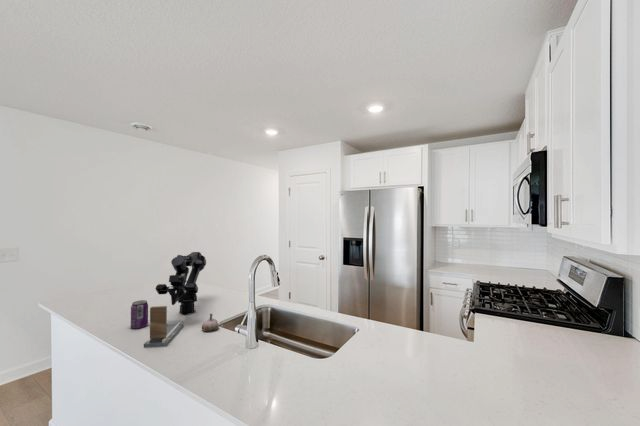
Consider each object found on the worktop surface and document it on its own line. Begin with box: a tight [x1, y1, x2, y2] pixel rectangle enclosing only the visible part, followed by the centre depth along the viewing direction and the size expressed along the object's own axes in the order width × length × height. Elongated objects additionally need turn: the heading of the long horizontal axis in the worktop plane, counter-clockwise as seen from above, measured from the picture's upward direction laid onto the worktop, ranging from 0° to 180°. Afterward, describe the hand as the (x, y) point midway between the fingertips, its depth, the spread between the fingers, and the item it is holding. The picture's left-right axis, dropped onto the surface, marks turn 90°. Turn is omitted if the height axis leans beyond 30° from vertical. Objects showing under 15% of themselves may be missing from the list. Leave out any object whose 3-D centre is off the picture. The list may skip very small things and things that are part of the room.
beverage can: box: [130, 299, 149, 329], centre depth 133 cm, size 7×7×12 cm
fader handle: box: [149, 305, 168, 343], centre depth 115 cm, size 4×6×14 cm, turn 99°
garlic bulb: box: [201, 312, 220, 332], centre depth 130 cm, size 8×7×8 cm
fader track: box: [143, 321, 185, 348], centre depth 123 cm, size 20×9×2 cm, turn 9°
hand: (172, 304), depth 131 cm, fingers closed
